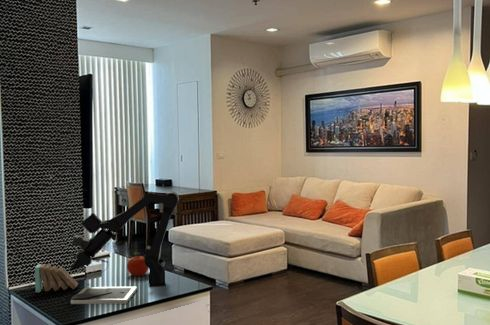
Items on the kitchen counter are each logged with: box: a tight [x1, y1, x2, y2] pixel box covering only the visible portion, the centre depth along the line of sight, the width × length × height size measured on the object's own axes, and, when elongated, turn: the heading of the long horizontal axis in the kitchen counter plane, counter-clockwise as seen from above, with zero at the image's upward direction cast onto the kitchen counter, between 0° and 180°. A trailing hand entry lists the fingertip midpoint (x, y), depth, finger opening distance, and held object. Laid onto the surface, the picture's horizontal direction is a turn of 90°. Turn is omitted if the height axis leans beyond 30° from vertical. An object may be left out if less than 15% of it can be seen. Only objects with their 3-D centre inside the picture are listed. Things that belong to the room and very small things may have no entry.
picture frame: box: [70, 286, 138, 305], centre depth 181 cm, size 16×3×21 cm
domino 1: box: [34, 263, 43, 293], centre depth 189 cm, size 2×5×10 cm, turn 12°
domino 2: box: [39, 263, 53, 292], centre depth 190 cm, size 2×5×10 cm, turn 12°
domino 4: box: [49, 265, 70, 291], centre depth 191 cm, size 2×5×10 cm
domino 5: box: [56, 265, 79, 290], centre depth 191 cm, size 2×5×10 cm
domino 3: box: [44, 263, 61, 292], centre depth 190 cm, size 2×5×10 cm, turn 12°
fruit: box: [126, 251, 149, 277], centre depth 210 cm, size 10×10×10 cm
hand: (71, 269), depth 192 cm, fingers closed
